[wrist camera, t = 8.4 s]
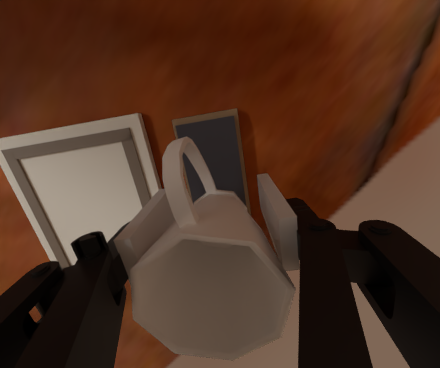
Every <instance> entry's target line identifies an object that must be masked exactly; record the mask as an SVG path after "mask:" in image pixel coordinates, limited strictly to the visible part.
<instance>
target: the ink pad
mask: <svg viewBox="0 0 440 368" xmlns="http://www.w3.org/2000/svg"><path fill="white" fill-rule="evenodd" d="M172 125H173V129H174V133H175V137H176V140H177V139H180V138H183V137H188V138H190V139H192V140H193V142H194V143H195V145H196V146H197V148H198V150H199V151H200V153H201V155H202V157H203V159H204V161H205V163H206V165H207V167H208V169H209V171H210V174H211V176H212V178H213V181H214V183H215V186H216V189H217V190H225V191H234V193H235V194H236V195H237V196H238V197H239V199H240V200H241V201H242V202H243V203H244V205H245V206H246V207H247V212H248V213H249V214H250V216H251V210H250V202H249V195H248V187H247V180H246V172H245V165H244V157H243V149H242V142H241V134H240V127H239V119H238V112H237V108H236V109H230V110H224V111H219V112H213V113H208V114H202V115H196V116H191V117H185V118H180V119H174V120H172ZM182 161H183V172H184V176H185V180H186V185H187V189H188V193H189V196H190V198H191V201H192V203H193V205H194V202H195V201H196V200H197V199H199V198H200V197H201V196H203V195H204V194H205V193H206V191H205V188H204V185H203V183H202V181H201V179H200V177H199V175H198V173H197V172H196V170H195V168H194V167H193V165H192V163H191V162H190V160H189V159H188V157H187V156H186V154H185V153H184V152H183V155H182Z"/></svg>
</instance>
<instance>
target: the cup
mask: <svg viewBox="0 0 440 368" xmlns="http://www.w3.org/2000/svg"><path fill="white" fill-rule="evenodd" d="M183 152H184V153H185V154H186V156H187V157H188V159H189V160H190V162H191V163H192V165H193V167H194V168H195V170H196V172H197V173H198V175H199V177H200V179H201V181H202V183H203V185H204V188H205V191H206V193H205V194H204V195H203V196H201V197H200V198H199V199H197V200H196V201H195V202H194V205H193V203H192V201H191V198H190V196H189V194H188V191H187V189H186V185H185V181H184V177H183V161H182V155H183ZM162 179H163V184H164V188H165V192H166V196H167V199H168V202H169V205H170V208H171V210H172V213H173V216H174V218H175V221H174V222H173V223H172V224H171V225H170V227H169V228H168V229H167V230H166V231H165V232H164V233H163V234H162V236H161V237H160V238H159V239H158V240H157V241H156V242H155V243H154V244H153V245H152V246H151V247H150V248H149V249H148V250H147V251H146V252H145V254H144V255H143V256H142V257H141V258H140V259H139V260H138V261H137V262H136V264H135V265H134V266H133V267H132V268H131V269H130V276H131V294H132V312H133V320H135V321H136V322H137V323H138V324H139V325H141V326H142V327H143V328H144V329H146V330H147V331H148V332H149V333H150V334H152V335H153V336H154V337H155V338H157V339H158V340H159V341H160V342H161V343H163V344H164V345H165V346H166V347H168V348H169V349H170V350H171V351H172V352H174V353H175V354H182V355H191V356H199V357H206V358H215V359H223V360H231V361H233V360H235V359H237V358H239V357H242V356H244V355H246V354H248V353H250V352H252V351H254V350H256V349H258V348H260V347H262V346H265V345H267V344H269V343H271V342H273V341H275V340H277V339H279V338H281V337H282V335H283V332H284V328H285V325H286V321H287V318H288V314H289V311H290V307H291V304H292V300H293V297H294V293H295V290H296V289H295V287H294V285H293V283H292V282H291V280H290V278H289V276H288V274H287V273H286V271H285V269H284V267H283V266H282V264H281V262H280V261H279V259H278V257H277V256H276V254H275V252H274V251H273V249H272V247H271V245H270V243H269V242H268V240H267V238H266V236H265V234H264V233H263V231H262V229H261V228H260V226H259V225H258V224H257V223H256V222H255V220H254V219H253V218H252V217H251V216H250V214H249V213H248V212H247V207H246V206H245V205H244V203H243V202H242V201H241V200H240V199H239V197H238V196H237V195H236V194H235V193H234V191H225V190H217V189H216V186H215V183H214V181H213V178H212V176H211V174H210V171H209V169H208V167H207V165H206V163H205V161H204V159H203V157H202V155H201V153H200V151H199V150H198V148H197V146H196V145H195V143H194V142H193V140H192V139H190V138H188V137H183V138H180V139H177V140H174V141H172V142H171V143H170V144H169V145H168V146H167V148H166V150H165V153H164V155H163V157H162Z"/></svg>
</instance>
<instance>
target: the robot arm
mask: <svg viewBox="0 0 440 368" xmlns="http://www.w3.org/2000/svg"><path fill="white" fill-rule="evenodd" d="M257 182H258V191H259V199H260V208H261V211H262V214H263V217H264V220H265V222H266V225H267V228H268V231H269V234H270V236H271V239H272V242H273V245H274V248H275V251H276V253H277V256H278V259H279V261H280V262H281V264H282V266H283V267H284V269H285V271H290V270H298V269H300V294H299V353H298V368H373V366H372V363H371V359H370V355H369V351H368V347H367V344H366V340H365V336H364V332H363V328H362V325H361V321H360V317H359V313H358V309H357V306H356V302H355V298H354V294H353V290H352V287H351V283H350V282H354V283H357V285H358V286H359V288H360V289H361V291H362V293H363V294H364V296H365V297H366V299H367V300H368V302H369V304H370V305H371V307H372V308H373V310H374V311H375V313H376V315H377V316H378V318H379V319H380V321H381V322H382V324H383V326H384V327H385V329H386V330H387V332H388V333H389V335H390V336H391V338H392V340H393V341H394V343H395V344H396V346H397V348H398V349H399V351H400V352H401V354H402V355H403V357H404V359H405V360H406V362H407V363H408V365H409V366H410V368H440V258H439V257H438V256H436V255H435V254H434V253H433V252H431V251H430V250H429V249H427V248H426V247H425V246H423V245H422V244H421V243H419V242H418V241H417V240H415V239H414V238H413V237H412V236H410V235H409V234H407V233H406V232H405V231H404V230H402V229H401V228H400V227H398V226H396V225H394V224H392V223H389V222H386V221H380V220H369V221H364V222H362V223H360V225H359V230H358V231H348V230H339V229H336V227H335V225H334V224H333V223H332V222H330V221H328V220H324V219H319V218H318V217H317V215H316V214H315V213H314V212H313V211H312V210H311V209H310V207H309V206H307V204H306V203H305V202H304V201H303V200H301V199H298V198H291V199H285V198H284V197H283V195H282V194H281V192H280V191H279V190H278V188H277V187H276V185H275V184H274V182H273V181H272V179H271V178H270V176H269V175H268V174H267V173H265V174H258V175H257ZM174 221H175V218H174V216H173V213H172V210H171V208H170V205H169V202H168V199H167V196H166V192H165V189H159V190H158V192H157V193H156V194H155V195H154V196H153V197H152V198H151V199H150V200H149V202H148V203H147V204H146V205H145V206H144V207H143V208H142V209H141V210H140V212H139V213H138V214H137V215H136V216H135V217H134V218H133V219H132V220H131V221H130V222H128V223H126V224H125V225H123V226H122V227H121V228H120V229H119V230H118V232H116V234H115V235H114V236H113V237H112V238H111V239H110V240H109V241H108V242H107V241H106V239H105V236H104V234H103V232H101V231H95V232H91V233H88V234H85V235H83V236H81V237H79V238H77V239H76V240H74V241H73V242H72V243H71V246H72V249H73V251H74V253H75V255H76V257H77V259H78V260H77V261H76V263H75V265H72V266H69V267H66V268H63V269H62V267H61V265H60V263H59V262H58V261H50V262H45V263H42V264H40V265H38V266H36V267H35V268H34V269H32V270H30V271H29V272H28V273H26V274H25V275H24V276H23V277H22V278H20V279H19V280H18V281H17V282H16V283H15V284H13V285H12V286H11V287H10V288H9V289H8V290H6V291H5V292H4V293H3V294H2V295H1V296H0V368H114V363H115V358H116V352H117V346H118V340H119V335H120V329H121V323H122V317H123V311H124V306H125V300H126V294H127V293H126V289H125V286H124V285H125V283H126V281H127V280H128V279H129V282H130V284H131V276H130V269H131V268H132V267H133V266H134V265H135V264H136V262H137V261H138V260H139V259H140V258H141V257H142V256H143V255H144V254H145V252H146V251H147V250H148V249H149V248H150V247H151V246H152V245H153V244H154V243H155V242H156V241H157V240H158V239H159V238H160V237H161V236H162V234H163V233H164V232H165V231H166V230H167V229H168V228H169V227H170V225H171V224H172V223H173V222H174ZM299 260H300V265H299ZM34 306H36V308H37V309H38V311H39V313H40V314H41V316H42V318H41V319H40V320H39V321H38V322H37V323H36V322H34V320H33V319H32V317H31V316H30V314H29V311H30V310H31V309H32V308H33V307H34Z"/></svg>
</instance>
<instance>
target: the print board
mask: <svg viewBox="0 0 440 368" xmlns="http://www.w3.org/2000/svg"><path fill="white" fill-rule="evenodd" d="M0 165H1V167H2V169H3V171H4V173H5V175H6V177H7V179H8V181H9V183H10V185H11V186H12V188H13V190H14V192H15V194H16V196H17V198H18V200H19V202H20V204H21V206H22V207H23V209H24V211H25V213H26V215H27V217H28V219H29V221H30V223H31V225H32V227H33V228H34V230H35V232H36V234H37V236H38V238H39V240H40V242H41V244H42V246H43V248H44V249H45V251H46V253H47V255H48V257H49V259H50V261H58V262H59V263H60V265H61V267H62V269H63V268H66V267H69V266H72V265H75V263H76V261H77V260H78V259H77V257H76V255H75V253H74V251H73V249H72V246H71V243H72V242H73V241H74V240H76V239H77V238H79V237H81V236H83V235H85V234H88V233H91V232H95V231H101V232H103V234H104V236H105V239H106V241H107V242H108V241H109V240H110V239H111V238H112V237H113V236H114V235H115V234H116V232H118V230H119V229H120V228H121V227H122V226H123V225H125V224H126V223H128V222H130V221H131V220H132V219H133V218H134V217H135V216H136V215H137V214H138V213H139V212H140V210H141V209H142V208H143V207H144V206H145V205H146V204H147V203H148V202H149V200H150V199H151V198H152V197H153V196H154V195H155V194H156V193H157V192H158V190H159V189H162V187H161V184H160V180H159V176H158V173H157V169H156V165H155V162H154V158H153V155H152V151H151V147H150V144H149V140H148V136H147V133H146V129H145V125H144V122H143V118H142V115H141V113H136V114H130V115H125V116H120V117H114V118H109V119H103V120H98V121H92V122H87V123H81V124H76V125H71V126H65V127H60V128H54V129H49V130H43V131H38V132H33V133H27V134H22V135H16V136H11V137H5V138H0Z"/></svg>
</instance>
